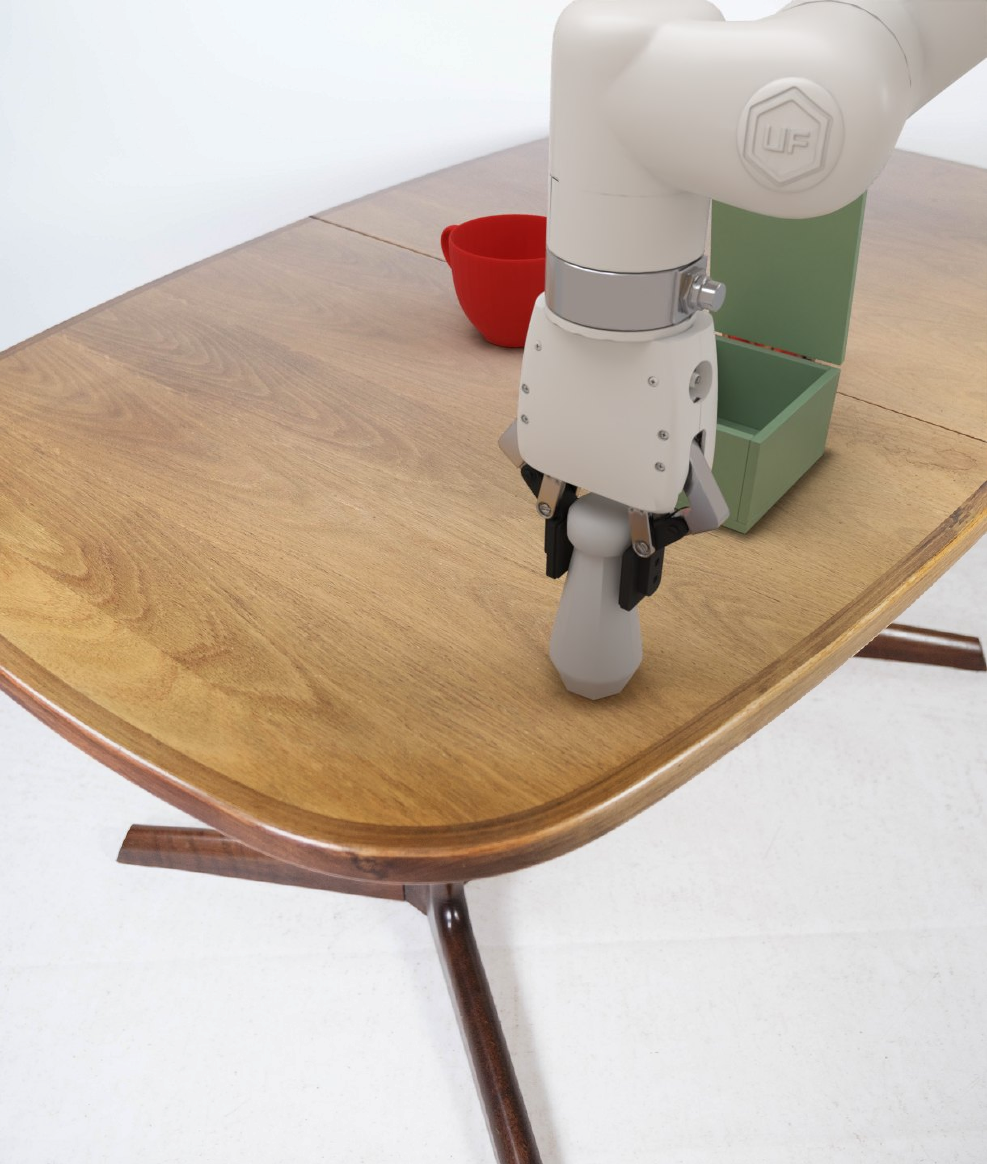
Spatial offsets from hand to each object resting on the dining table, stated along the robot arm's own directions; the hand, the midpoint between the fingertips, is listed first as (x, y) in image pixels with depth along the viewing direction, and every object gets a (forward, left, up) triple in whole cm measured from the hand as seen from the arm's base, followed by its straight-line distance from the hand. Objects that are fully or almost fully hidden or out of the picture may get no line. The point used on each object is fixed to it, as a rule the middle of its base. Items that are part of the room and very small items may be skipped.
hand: (600, 579), depth 63 cm
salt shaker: (0, 0, -8) cm, 8 cm away
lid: (-24, -23, +8) cm, 34 cm away
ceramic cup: (-13, -52, -8) cm, 54 cm away
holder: (-20, -20, -8) cm, 29 cm away
